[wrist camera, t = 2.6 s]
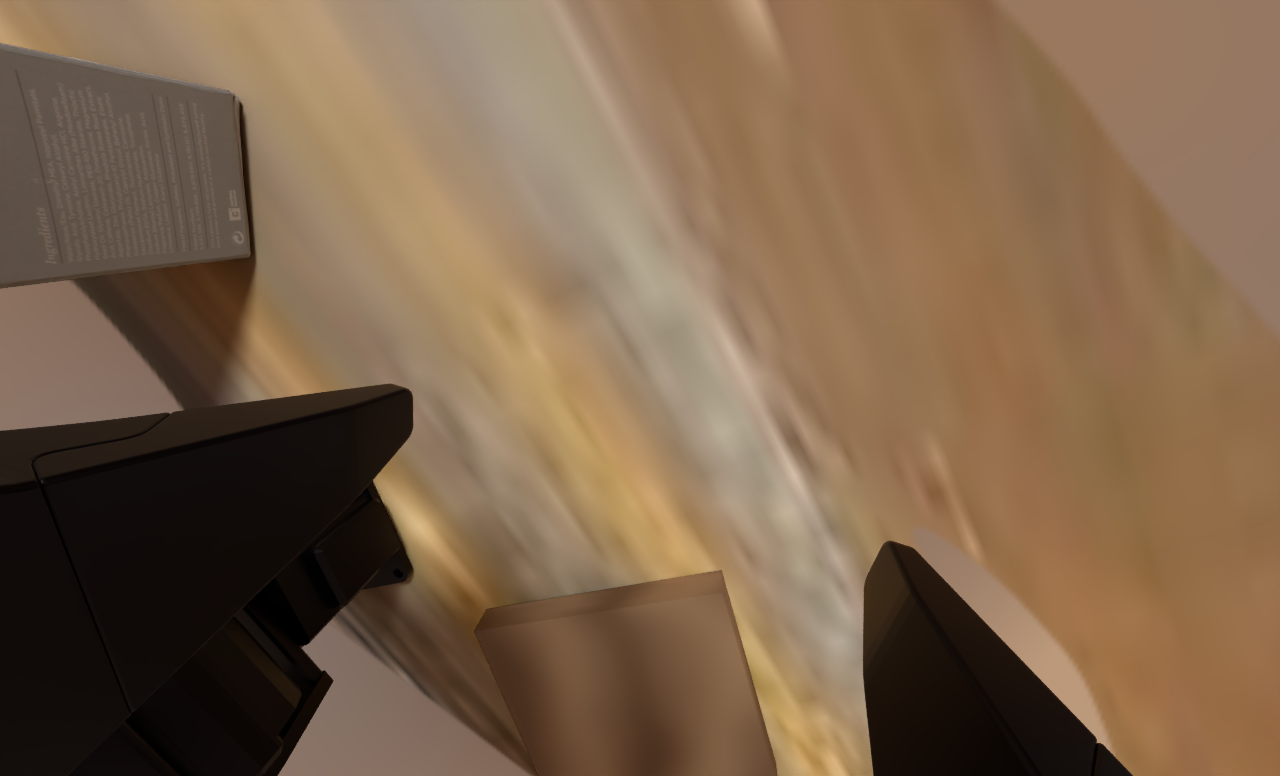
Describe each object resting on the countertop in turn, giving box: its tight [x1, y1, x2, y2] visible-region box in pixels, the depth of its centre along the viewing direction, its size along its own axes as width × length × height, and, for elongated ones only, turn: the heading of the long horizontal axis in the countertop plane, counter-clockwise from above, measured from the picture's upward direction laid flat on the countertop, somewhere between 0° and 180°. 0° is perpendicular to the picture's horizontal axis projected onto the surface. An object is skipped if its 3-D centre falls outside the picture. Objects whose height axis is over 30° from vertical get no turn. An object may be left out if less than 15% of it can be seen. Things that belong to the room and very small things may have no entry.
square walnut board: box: [474, 570, 777, 776], centre depth 26 cm, size 12×12×2 cm
